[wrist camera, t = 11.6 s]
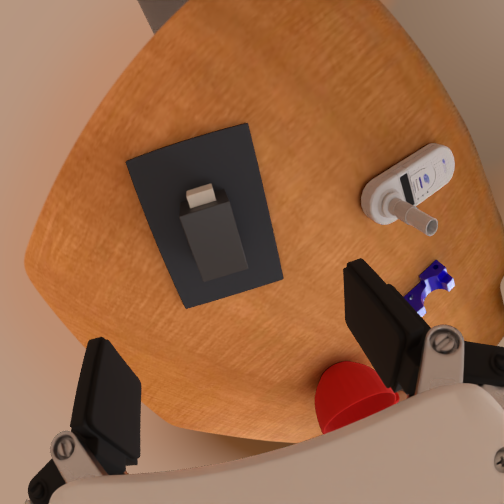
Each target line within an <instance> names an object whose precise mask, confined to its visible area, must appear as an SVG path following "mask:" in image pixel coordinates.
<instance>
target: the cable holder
mask: <svg viewBox="0 0 504 504" xmlns="http://www.w3.org/2000/svg"><path fill="white" fill-rule="evenodd" d="M419 278H420V280H421V282H420V283H419V284H418V285H417V286H416V287H414V288H413V289H412V290H411V291H410V292H409V293H408V294H407V295H405V296H404V298H405V299H406V301H407V302H408V303H409V304H410V305H411V306H412V307H413V308H414V309H415V311H416V312H417V313H418V314H419V315H420V316H421V317H422V316H423V315H425V314H426V310H425V307H424V300H425V298H426V296H427V295H428V294H429V293H430V292H431V291H433V290H436V289H445V290H447V291H448V292H449V291H450V290H451V289H452V288H453V287H454V286H455V283H454V279H453V278H452V277H451V276H450V275H449V274H448V273H447V270H446V267H445V266H443V265H442V264H441V263H440V262H438V261H437V260H435V261H434V262H433V263H432V264H431V265H430V266H429V267H428V268H427V269H426V270H425V271H424V272H423V273H422V274H420V275H419Z"/></svg>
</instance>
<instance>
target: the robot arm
mask: <svg viewBox="0 0 504 504" xmlns="http://www.w3.org/2000/svg"><path fill="white" fill-rule="evenodd" d="M343 275H344V298H345V320H346V324H347V326H348V328H349V329H350V331H351V332H352V334H353V335H354V337H355V339H356V340H357V342H358V343H359V345H360V346H361V348H362V350H363V351H364V353H365V354H366V356H367V358H368V359H369V361H370V362H371V364H372V366H373V367H374V369H375V370H376V372H377V374H378V375H379V377H380V379H381V380H382V382H383V383H384V385H385V386H386V388H390V387H391V389H392V390H393V392H394V393H396V392H398V391H400V390H402V389H403V390H404V392H405V393H406V394H408V396H407V399H405V400H403V401H401V402H399V403H396V404H394V405H392V406H390V407H388V408H386V409H384V410H382V411H379V412H377V413H375V414H373V415H370V416H368V417H366V418H363V419H361V420H359V421H356V422H354V423H351V424H349V425H347V426H344V427H342V428H339V429H337V430H334V431H331V432H329V433H326V434H323V435H321V436H318V437H315V438H312V439H309V440H306V441H303V442H300V443H297V444H294V445H291V446H288V447H284V448H281V449H277V450H274V451H270V452H266V453H263V454H259V455H255V456H251V457H246V458H242V459H238V460H233V461H228V462H224V463H218V464H213V465H207V466H201V467H195V468H189V469H182V470H173V471H165V472H154V473H141V474H128V473H127V472H126V466H128V465H137V458H139V457H140V413H141V411H140V410H141V382H140V380H139V378H138V377H137V376H136V375H135V374H134V372H133V371H132V370H131V369H130V367H129V366H128V365H127V364H126V362H125V361H124V360H123V359H122V357H121V356H120V355H119V353H118V352H117V351H116V349H115V348H114V347H113V345H112V344H111V343H110V341H109V340H105V339H104V338H103V337H99V338H95V339H91V340H89V341H88V344H87V348H86V352H85V356H84V360H83V364H82V368H81V373H80V377H79V381H78V386H77V391H76V396H75V401H74V406H73V412H72V418H71V424H70V427H71V428H72V429H71V432H70V431H63V432H60V433H59V434H57V435H56V436H55V437H54V439H53V441H52V443H51V447H50V453H51V456H52V459H51V460H50V461H49V462H48V463H47V464H46V465H45V467H44V468H42V470H40V471H39V472H38V474H37V475H36V476H35V477H34V478H33V479H32V480H31V481H30V483H29V487H28V494H29V498H30V501H29V500H26V502H25V504H504V347H499V346H493V345H486V344H480V343H473V342H467V341H464V338H463V336H462V334H461V332H459V331H458V330H457V329H456V328H454V327H452V326H449V325H438V326H434V327H433V328H430V327H429V325H428V324H427V323H426V322H425V321H424V320H423V318H422V317H421V316H420V315H419V314H418V313H417V312H416V311H415V309H414V308H413V307H412V306H411V305H410V304H409V303H408V302H407V301H406V299H405V298H404V297H403V296H402V295H401V294H400V293H399V292H398V291H397V290H396V289H395V288H394V287H393V286H392V285H391V284H386V283H385V282H384V281H383V280H382V279H381V278H380V277H379V276H378V274H377V273H376V272H375V271H374V270H373V269H372V268H371V267H370V266H369V265H368V264H367V263H366V262H365V261H364V260H363V259H361V258H360V259H357V260H354V261H352V262H349V263H347V267H346V268H344V269H343Z"/></svg>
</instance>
